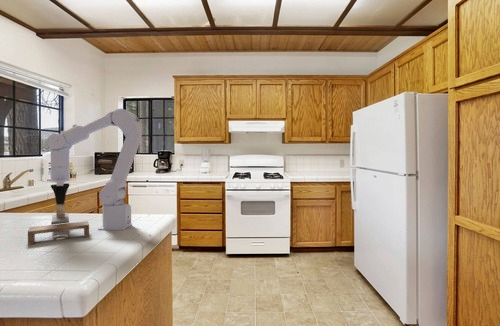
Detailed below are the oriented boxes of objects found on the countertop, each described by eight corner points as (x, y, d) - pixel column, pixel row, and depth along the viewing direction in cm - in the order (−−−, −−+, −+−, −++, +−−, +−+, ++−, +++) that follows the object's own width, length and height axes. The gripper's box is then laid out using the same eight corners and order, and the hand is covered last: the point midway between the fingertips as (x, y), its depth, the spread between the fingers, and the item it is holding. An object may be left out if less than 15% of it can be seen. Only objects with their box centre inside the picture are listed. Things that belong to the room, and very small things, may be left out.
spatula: (52, 216, 106) (52, 193, 105) (68, 215, 109) (68, 192, 108) (51, 224, 96) (50, 198, 95) (68, 222, 98) (68, 197, 98)
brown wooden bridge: (87, 232, 99) (87, 221, 99) (89, 236, 94) (89, 224, 94) (30, 239, 90) (29, 227, 90) (27, 244, 85) (27, 231, 85)
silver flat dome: (69, 237, 94) (70, 234, 94) (63, 240, 90) (63, 237, 90) (57, 237, 94) (57, 234, 94) (49, 241, 90) (49, 237, 90)
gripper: (47, 166, 109) (48, 201, 109) (45, 167, 97) (46, 207, 97) (69, 166, 113) (70, 200, 113) (70, 167, 100) (70, 205, 101)
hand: (60, 203), depth 105 cm, fingers closed on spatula
